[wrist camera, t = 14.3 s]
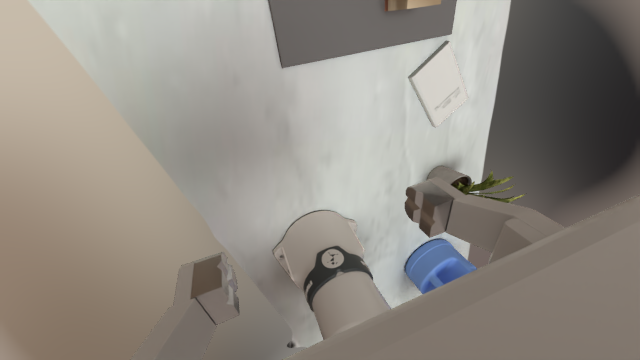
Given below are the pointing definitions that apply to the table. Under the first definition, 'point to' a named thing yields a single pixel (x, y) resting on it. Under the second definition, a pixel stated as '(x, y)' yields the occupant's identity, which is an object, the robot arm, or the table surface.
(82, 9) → the table surface
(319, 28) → the rubber mat
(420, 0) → the maple block
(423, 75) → the external hard drive
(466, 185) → the house plant
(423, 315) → the robot arm
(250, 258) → the table surface
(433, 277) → the water jug
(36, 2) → the table surface
